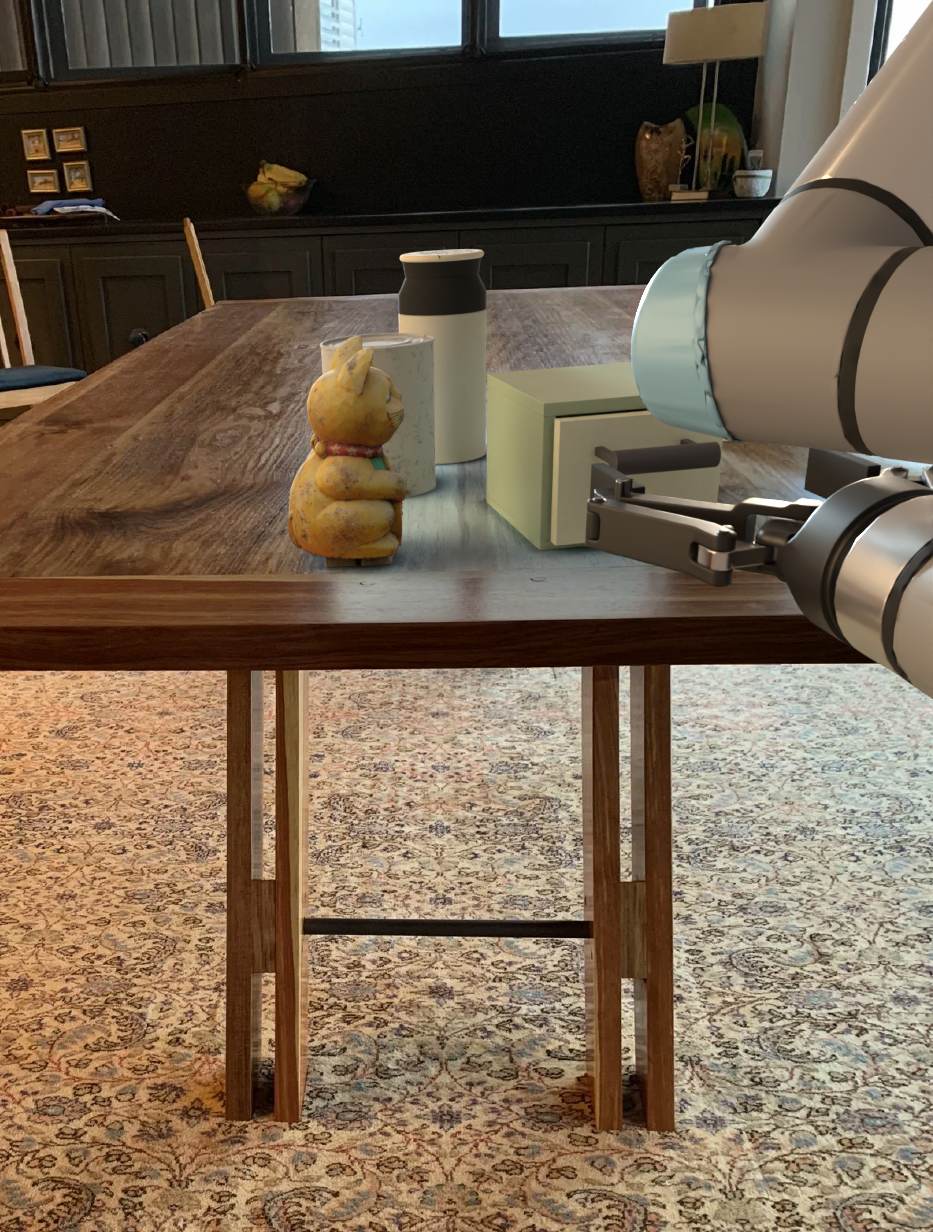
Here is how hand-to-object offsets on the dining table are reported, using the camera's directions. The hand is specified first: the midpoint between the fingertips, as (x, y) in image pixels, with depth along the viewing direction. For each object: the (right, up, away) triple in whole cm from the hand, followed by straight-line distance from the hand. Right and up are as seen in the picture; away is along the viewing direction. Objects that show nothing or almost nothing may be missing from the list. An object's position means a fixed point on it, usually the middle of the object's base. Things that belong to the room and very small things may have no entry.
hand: (705, 476), depth 72 cm
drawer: (-2, +1, +16) cm, 16 cm away
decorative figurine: (-21, -2, +14) cm, 26 cm away
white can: (-18, +8, +33) cm, 39 cm away
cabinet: (-2, +2, +21) cm, 21 cm away
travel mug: (-12, +13, +43) cm, 47 cm away
